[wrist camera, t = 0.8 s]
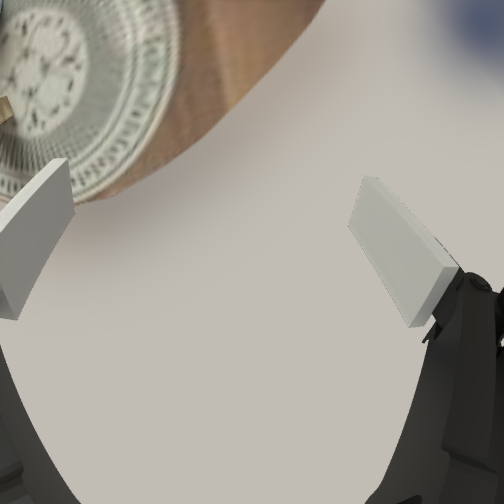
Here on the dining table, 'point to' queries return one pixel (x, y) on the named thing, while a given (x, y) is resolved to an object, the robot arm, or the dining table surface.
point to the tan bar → (5, 109)
